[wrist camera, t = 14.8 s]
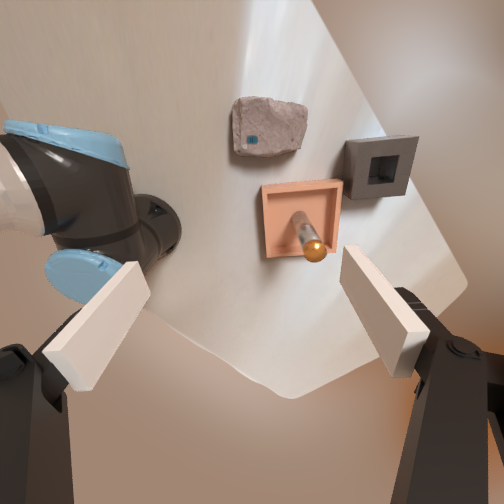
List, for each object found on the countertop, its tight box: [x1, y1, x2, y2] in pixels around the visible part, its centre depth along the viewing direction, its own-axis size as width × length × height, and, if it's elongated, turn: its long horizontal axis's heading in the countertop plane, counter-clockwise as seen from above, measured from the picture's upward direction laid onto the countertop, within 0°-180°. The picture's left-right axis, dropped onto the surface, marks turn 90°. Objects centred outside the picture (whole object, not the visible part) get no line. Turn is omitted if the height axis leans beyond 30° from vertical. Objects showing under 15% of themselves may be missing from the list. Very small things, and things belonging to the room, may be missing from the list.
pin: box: [291, 211, 327, 262], centre depth 44 cm, size 4×4×16 cm
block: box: [342, 135, 419, 200], centre depth 43 cm, size 10×10×6 cm
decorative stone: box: [232, 96, 308, 157], centre depth 40 cm, size 13×10×6 cm
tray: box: [261, 178, 343, 258], centre depth 50 cm, size 16×16×4 cm
